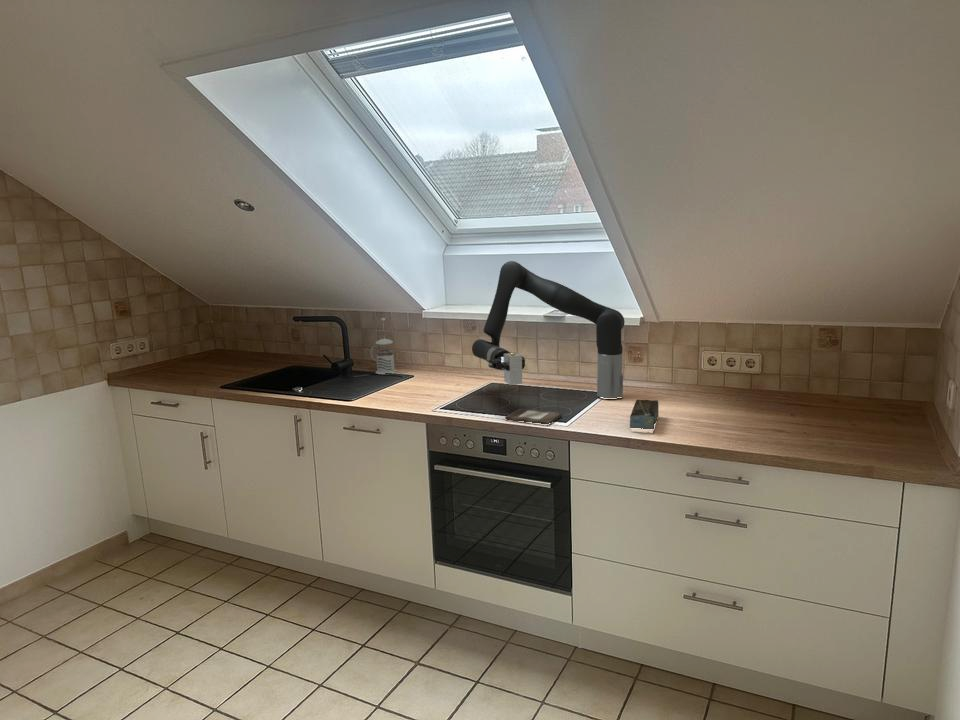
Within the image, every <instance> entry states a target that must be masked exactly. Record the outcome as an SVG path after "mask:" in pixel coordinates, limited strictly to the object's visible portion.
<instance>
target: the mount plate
mask: <svg viewBox="0 0 960 720" xmlns="http://www.w3.org/2000/svg"><path fill="white" fill-rule="evenodd" d="M562 415H563V414H562V413H561V412H555V411H554V412H553V411H546V410H541V409H540V410H539V409H533V408H532V409H531V408H530V409H529V408H522V407H520V408H518V409H516V410H514V411H512V412H511V413H510V414H508V415H506V416H505V418H504V419H507V420H513V421H512V422H514V421H524V422H532V423H541V424H549V423H552V422H553V421H555V420H556V421H558V420H559V419H560V418H562V417H561V416H562ZM558 418H559V419H558ZM557 419H558V420H557ZM507 420H506V421H507ZM556 421H555V422H556ZM553 423H554V422H553ZM553 423H552V424H553Z"/></svg>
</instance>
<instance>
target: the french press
mask: <svg viewBox="0 0 960 720" xmlns="http://www.w3.org/2000/svg"><path fill="white" fill-rule="evenodd" d="M380 321H381V322H382V324H383V325H382V326H383V330H385V325H384V324H385V323H384V321H386V318H385V317H382V318H381V319H380ZM393 343H394V341H393V340H391V339H388V338H386V337H383V338H381V339H378V340H376V341H375V345H373V346H372V347H371V348H370V350H369V351H370V353H369V354H371V355H370V358H371V359H372V360H373V361H375V362H376V371H375V374H378V375H386V374H385V373H390V372H394V371H397V370H396V369H395V357H394V355H395V354H394V353H393V352H394V350H393V349H386V346H387V345H388V346H389V345H393ZM379 345H381V346H382V345H383V347H384V349H379V350H377V351H376V353H377V354H376V358H375V357H374V355H373V353H372V351H373V349H374V348H375V349H378V346H379Z"/></svg>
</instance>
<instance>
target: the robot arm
mask: <svg viewBox="0 0 960 720" xmlns="http://www.w3.org/2000/svg"><path fill="white" fill-rule="evenodd" d="M515 288H516V289H520V290H521V291H525V292H528V293H529V294H532V295H533V296H535V297H536V298H537V299H538V300H541V302H543V303H544V304H546V305H548V306H550V307H551V308H554V309H555V310H558V311H560V312H561V313H565V314H567V315H571V316H573V317H579V318H582V319H584V320H588V321H589V322H591V323H594V324H595V326H596V327H595V328H596V329H595V330H596V331H595V332H596V333H595V334H596V335H595V336H596V337H595V338H596V339H595V340H596V348H597V365H596V366H597V370H596V371H597V374H596V375H597V377H596V378H597V379H596V388H597V389H596V397H597V396H599V397H604V398H617V397H624V373H623V350H624V349H623V347H624V346H623V345H622V329H623V328H624V326H625V317H624V315H623V314H622V313H621V312H620V311H619V310H616V309H614V308H610V307H609V306H606V305H602V304H600V303H598V302H595V301H594V300H592V299H590V298H589V297H586V296H584V295H583V294H580V293H579V292H577V291H576V290H573V289H572V288H569V287H568V286H566V285H564V284H561V283H559V282H556V281H553V280H550V279H548V278H544V277H541V276H539V275H537V274H535V273H534V272H532V271H530V270H529V269H528V268H526V267H525V266H523V265H522V264H520V263H519V262H518V261H515V260H509V261H507V262H505V263H503V264H502V266H501V267H500V270H499V277H498V282H497V286H496V290H495V294H494V299H493V301H492V305H491V308H490V310H489V312H488V316H487V319H486V321H485V324H484V326H483V333H484V334H486V335H487V336H488V337H490V340H491V342H490V341H488V340H485V339H482V338H479V339H476V340H475V341H474V342H473V344H472V346H471V352H472V355H474V356H475V357H476V358H479V359H481V360H484V361H486V362H487V363H488V367H489V368H491V369H494V370H498V371H499V370H500V371H504V369H505V370H507V371H510V366H509V364H507V363H505V362H504V354H505V353H511V352H510V351H509V350H507V349H505V348H503V347H501V346H500V343H501V335H502V332H503V329H504V326H505V323H506V321H507V316H508V312H509V306H510V301H511V298H512V296H513V293H514V290H515ZM521 356H522V355H521ZM525 367H526V358H525V356H522V370H525V369H524V368H525Z"/></svg>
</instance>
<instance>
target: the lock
mask: <svg viewBox="0 0 960 720" xmlns="http://www.w3.org/2000/svg"><path fill="white" fill-rule="evenodd" d="M504 362H505V363H507V364H509V366H510V371H507V370H505V369H504V370H503V377H504V378H503V380H504V382H505V383H506V384H508V385H509V386H514V385H522V384H523V369H522V354H520V353H518V352H510V353H505V354H504Z"/></svg>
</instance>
